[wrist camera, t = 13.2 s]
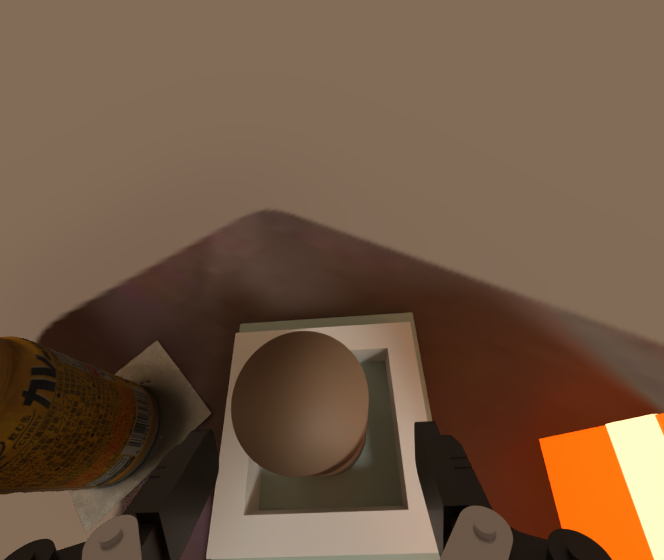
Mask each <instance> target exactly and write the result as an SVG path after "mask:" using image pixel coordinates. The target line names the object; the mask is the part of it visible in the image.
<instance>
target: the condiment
mask: <svg viewBox="0 0 664 560" xmlns="http://www.w3.org/2000/svg"><path fill="white" fill-rule="evenodd" d="M146 381H151V382H150V383H146ZM141 382H144V384H140V383H141ZM210 414H211V412H210V411H209V409H208V408H207V406H206V405H205V404H204V402H203V401H202V399H201V398H200V397H199V395H198V394H197V392H196V391H195V390H194V389H193V387H192V385H191V384H190V383H189V382H188V380H187V379H186V378H185V376H184V375H183V374H182V372H181V371H180V370H179V368H178V367H177V366H176V364H175V363H174V362H173V361H172V359H171V358H170V356H169V355H168V354H167V352H166V351H165V350H164V349H163V347H162V346H161V345H160V343H159V342H158V341H156V342H154V343H153V344H152V345H150V346H149V347H148V348H146V349H145V350H144V351H143V352H142V353H141V354H139V355H138V356H137V357H135V358H134V359H132V360H131V361H130V362H129V363H128V364H127V365H126V366H124V367H123V368H122V369H120V370H119V371H118V372H117V373H116V374H115V375H114V374H112V373H111V372H109V371H105V370H102V369H99V368H96V367H95V366H93V365H90V364H87V363H84V362H82V361H79V360H77V359H74V358H72V357H69V356H67V355H65V354H63V353H60V352H57V351H55V350H52V349H50V348H47V347H45V346H42V345H39V344H37V343H35V342H33V341H29V340H27V339H24V338H17V337H0V494H9V493H14V492H24V493H26V492H37V491H41V492H44V491H64V490H69V492H70V494H71V496H72V498H73V502H74V505H75V507H76V511H77V513H78V515H79V518H80V520H81V522H82V525H83V527H84V529H85V531H86V532H88V531H89V530H90V529H91V528H92V527H93V526H94V525H95V524H96V523H97V522H99V521H100V520H101V519H102V518H103V517H104V516H105V515H106V514H107V513H108V512H109V511H110V510H112V509H113V508H114V507H115V506H116V505H117V504H118V503H119V502H120V501H121V500H122V499H123V498H124V497H125V496H126V495H127V494H129V493H130V492H131V491H132V490H133V489H134V488H135V487H136V486H137V485H138V484H139V483H140V482H141V481H142V480H143V479H144V478H145V477H146V476H147V475H148V474H149V473H150V472H151V471H152V470H153V469H154V468H156V467H157V465H158V464H159V462H160V461H161V460H162V458H163V457H164V455H165V454H167V453H168V452H169V451H170V450H171V449H173V448H174V447H175V446H176V445H179V444H181V443H182V442H183V441H184V440H185V439H186V437H187V436H188V434H189V433H190V432H191V431H192V430H195V429H196V428H197V427H198V426H199V425H200V424H201V423H202V422H203V421H204V420H205V419H206V418H207V417H208V416H209V415H210ZM161 436H163V437H162V438H161Z"/></svg>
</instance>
